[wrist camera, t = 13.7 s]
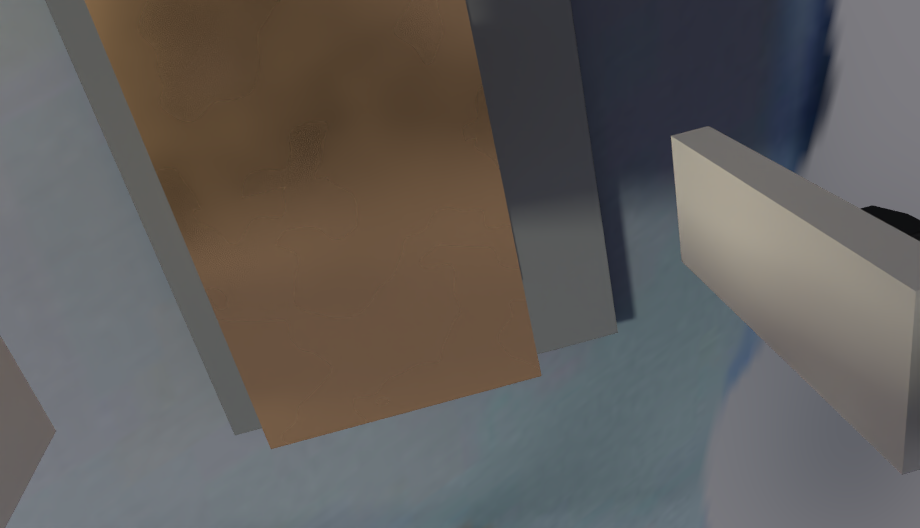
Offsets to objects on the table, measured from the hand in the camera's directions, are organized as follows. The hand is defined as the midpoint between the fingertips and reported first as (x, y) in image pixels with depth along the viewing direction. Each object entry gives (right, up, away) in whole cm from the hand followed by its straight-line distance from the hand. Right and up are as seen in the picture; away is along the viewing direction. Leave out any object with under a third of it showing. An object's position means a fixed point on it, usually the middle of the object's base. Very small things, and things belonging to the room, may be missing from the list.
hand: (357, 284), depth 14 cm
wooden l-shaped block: (-2, +7, +10) cm, 13 cm away
